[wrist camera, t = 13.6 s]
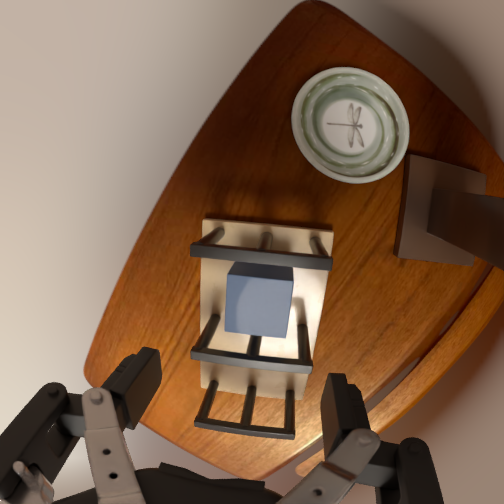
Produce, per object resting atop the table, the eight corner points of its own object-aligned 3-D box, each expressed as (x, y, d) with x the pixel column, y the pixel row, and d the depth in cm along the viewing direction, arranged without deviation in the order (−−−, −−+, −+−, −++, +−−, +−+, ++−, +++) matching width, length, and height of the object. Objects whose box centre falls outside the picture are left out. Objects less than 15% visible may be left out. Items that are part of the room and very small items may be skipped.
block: (238, 255, 25) (226, 273, 20) (292, 260, 25) (294, 280, 20) (235, 304, 26) (224, 332, 21) (286, 310, 26) (286, 339, 21)
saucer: (279, 84, 22) (278, 74, 20) (383, 72, 20) (392, 63, 18) (304, 191, 24) (306, 193, 22) (408, 174, 23) (420, 175, 20)
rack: (205, 217, 26) (175, 233, 18) (332, 230, 25) (350, 251, 17) (202, 382, 30) (184, 428, 23) (302, 394, 29) (303, 444, 22)
